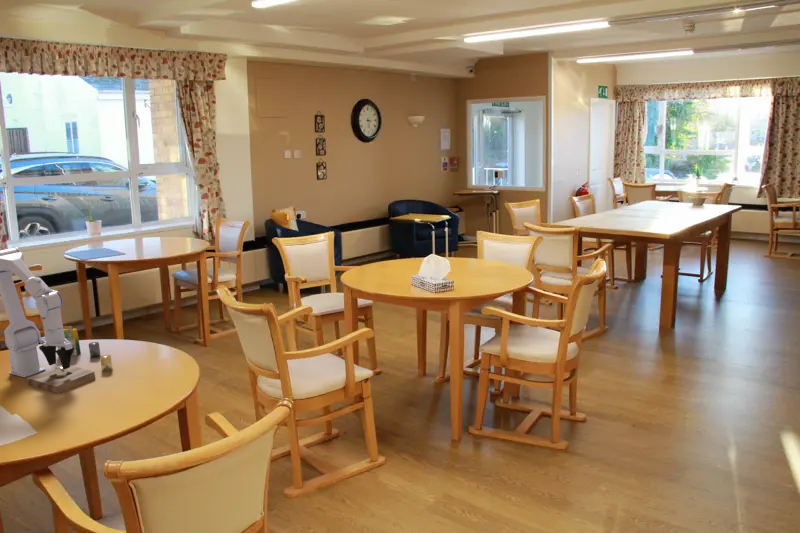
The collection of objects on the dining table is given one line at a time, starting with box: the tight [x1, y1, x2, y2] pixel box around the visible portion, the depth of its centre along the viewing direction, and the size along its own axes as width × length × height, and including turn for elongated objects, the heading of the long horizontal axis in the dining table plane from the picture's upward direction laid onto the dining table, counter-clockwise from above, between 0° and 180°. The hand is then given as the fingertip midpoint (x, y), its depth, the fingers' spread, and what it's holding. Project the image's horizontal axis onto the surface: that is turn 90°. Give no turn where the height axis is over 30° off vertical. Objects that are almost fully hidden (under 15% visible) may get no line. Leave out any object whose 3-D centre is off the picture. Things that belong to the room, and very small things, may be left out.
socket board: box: [26, 364, 96, 394], centre depth 235 cm, size 16×14×2 cm
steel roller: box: [54, 365, 68, 379], centre depth 235 cm, size 4×4×5 cm
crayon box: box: [56, 325, 82, 357], centre depth 260 cm, size 7×3×12 cm, turn 85°
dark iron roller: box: [88, 341, 102, 359], centre depth 258 cm, size 4×4×5 cm
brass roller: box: [99, 354, 114, 373], centre depth 244 cm, size 4×4×5 cm
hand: (59, 366), depth 234 cm, fingers open, 7 cm apart
